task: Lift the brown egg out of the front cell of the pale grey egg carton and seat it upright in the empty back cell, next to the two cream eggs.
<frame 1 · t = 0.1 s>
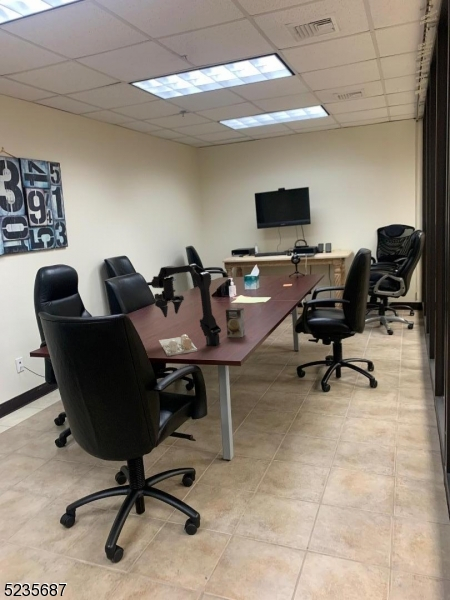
hand: (171, 315, 255), 15 cm above the table, tool pointing down, fingers open, 9 cm apart
cream egg back: (185, 346, 242), point 1 cm above the table, touching egg carton
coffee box: (236, 336, 258), on the table
cream egg left: (174, 352, 233), point 1 cm above the table, touching egg carton
brown egg: (188, 350, 235), point 1 cm above the table, touching egg carton
egg carton: (179, 350, 238), on the table
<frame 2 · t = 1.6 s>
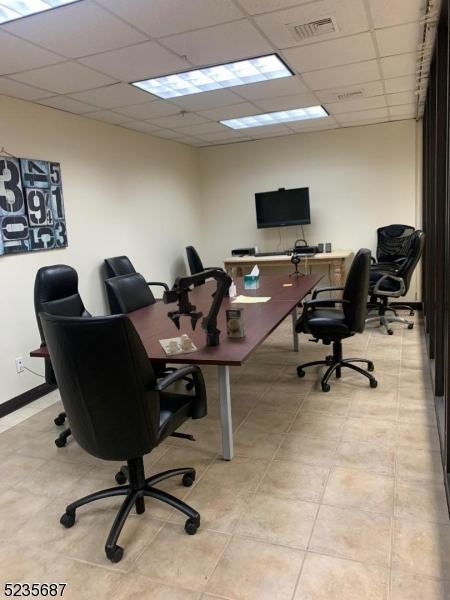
hand: (186, 330, 233), 11 cm above the table, tool pointing down, fingers open, 9 cm apart
nothing on the table moved.
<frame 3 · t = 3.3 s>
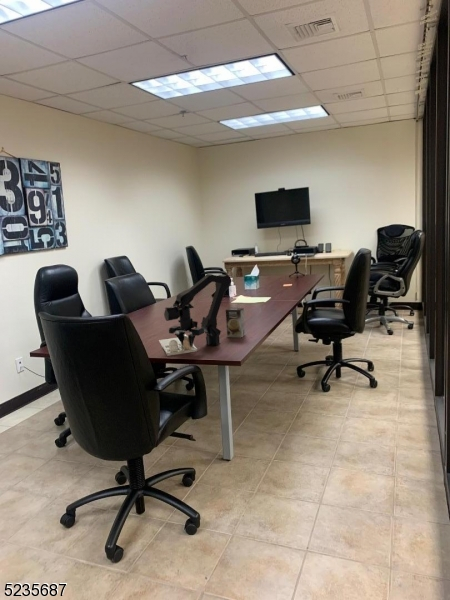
hand: (187, 346, 235), 3 cm above the table, tool pointing down, fingers closed on brown egg, 4 cm apart
brown egg: (188, 350, 235), point 1 cm above the table, touching egg carton, gripper
everything else where it was.
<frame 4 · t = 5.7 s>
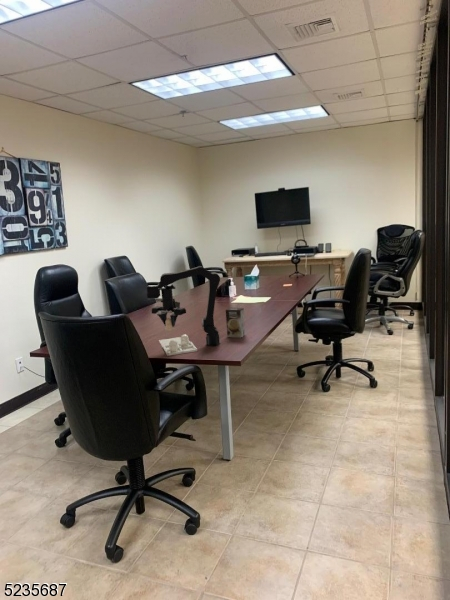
hand: (169, 326, 238), 13 cm above the table, tool pointing down, fingers closed on brown egg, 4 cm apart
brown egg: (170, 330, 238), point 11 cm above the table, touching gripper
everything else where it was.
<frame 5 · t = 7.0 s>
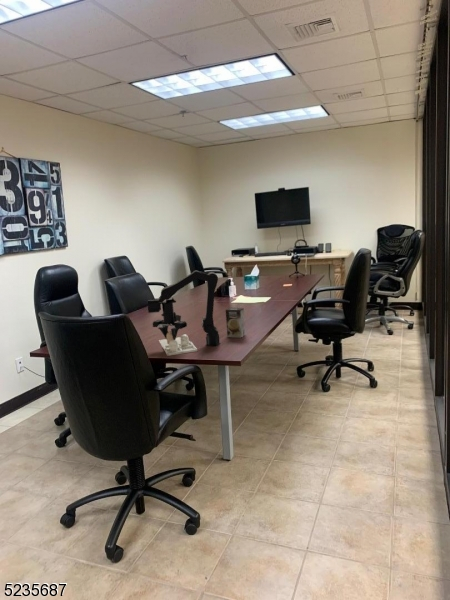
hand: (171, 339, 239), 5 cm above the table, tool pointing down, fingers closed on brown egg, 4 cm apart
brown egg: (171, 343, 240), point 3 cm above the table, touching gripper
everything else where it was.
when the fingers open (4 cm above the table, at t = 8.1 s): brown egg drops 1 cm, resting on egg carton.
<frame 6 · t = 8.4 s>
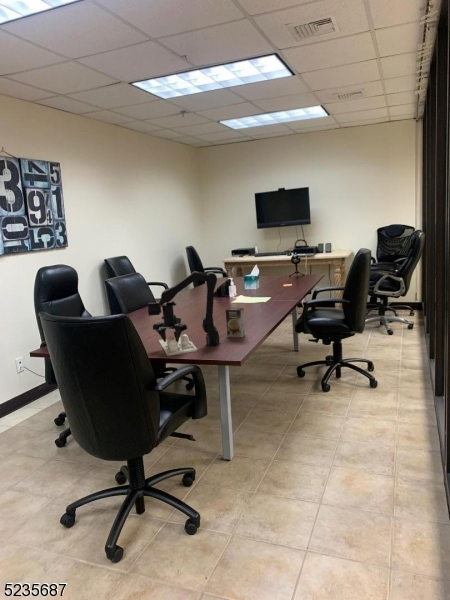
hand: (171, 342, 240), 4 cm above the table, tool pointing down, fingers open, 8 cm apart
brown egg: (171, 348, 240), point 1 cm above the table, touching egg carton
everything else where it was.
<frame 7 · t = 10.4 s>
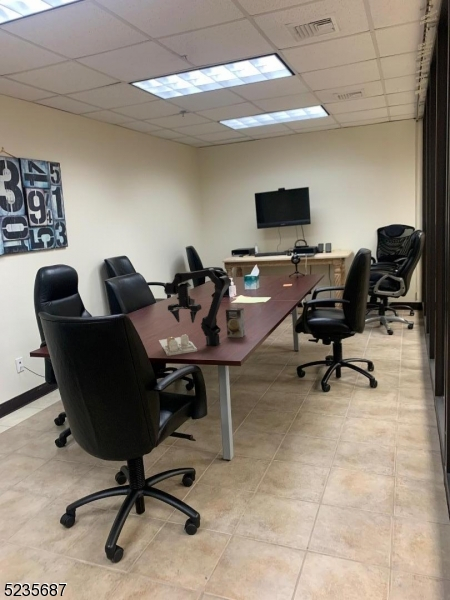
hand: (185, 322, 248), 12 cm above the table, tool pointing down, fingers open, 9 cm apart
nothing on the table moved.
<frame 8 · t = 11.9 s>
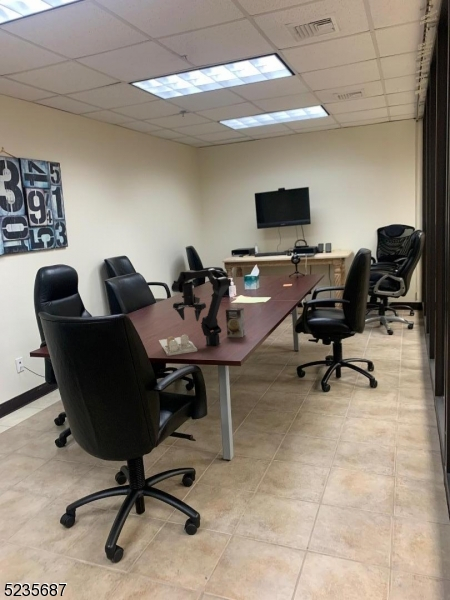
hand: (190, 320, 251), 12 cm above the table, tool pointing down, fingers open, 9 cm apart
nothing on the table moved.
at the end: brown egg 0.1 cm from the target spot on the egg carton, point 0.6 cm above the egg carton's base; brown egg tilted 0°; the gripper is holding nothing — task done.
